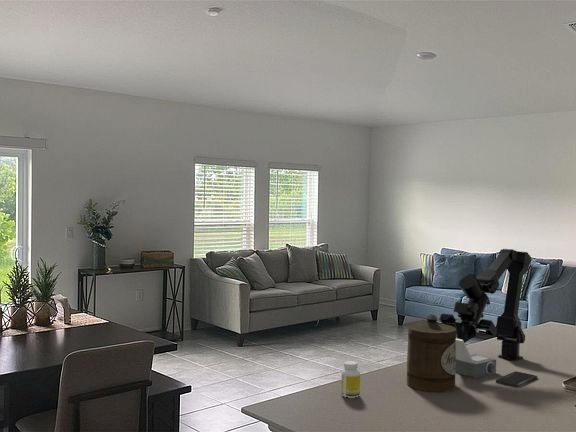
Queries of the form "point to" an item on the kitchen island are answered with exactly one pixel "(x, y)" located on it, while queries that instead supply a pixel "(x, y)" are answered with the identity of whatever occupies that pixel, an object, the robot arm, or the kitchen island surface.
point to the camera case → (477, 366)
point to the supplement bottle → (350, 380)
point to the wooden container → (431, 356)
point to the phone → (516, 379)
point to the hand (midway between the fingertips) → (458, 345)
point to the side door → (462, 352)
